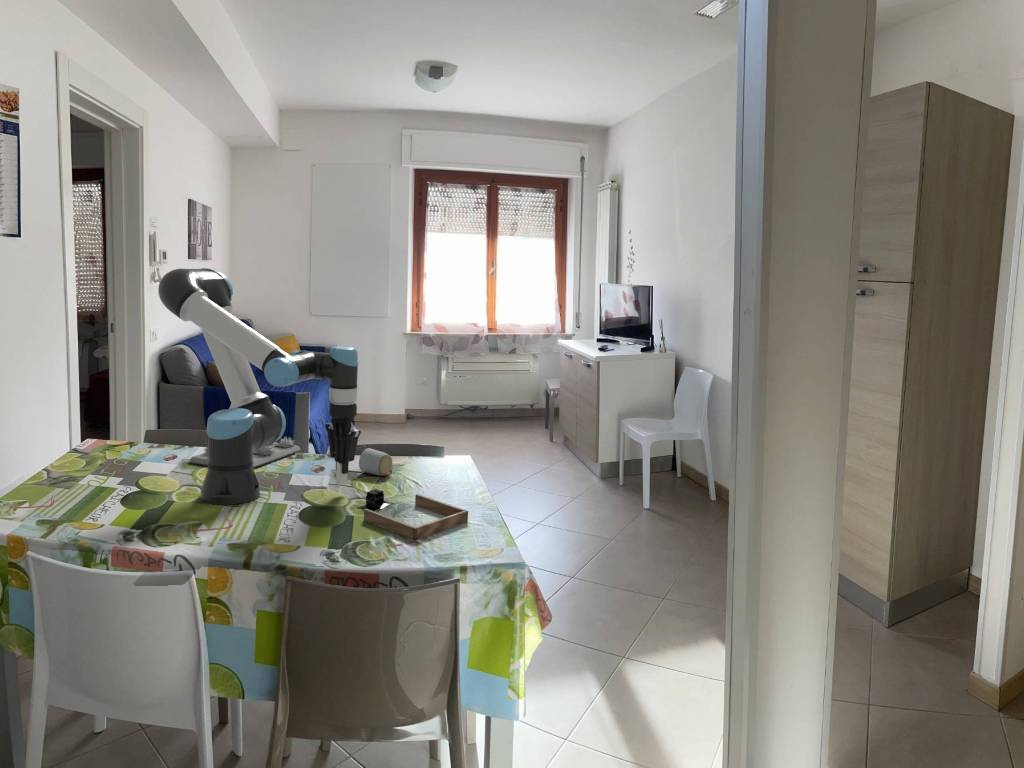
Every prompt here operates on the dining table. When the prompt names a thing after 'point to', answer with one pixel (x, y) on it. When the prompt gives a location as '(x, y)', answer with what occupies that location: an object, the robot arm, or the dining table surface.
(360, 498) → the dining table surface
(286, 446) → the flat grey tray
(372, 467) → the ceramic mug
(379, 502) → the black wall mount bracket
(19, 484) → the dining table surface
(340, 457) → the robot arm
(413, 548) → the dining table surface
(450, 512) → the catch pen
